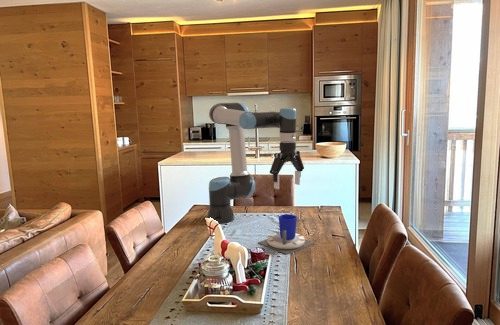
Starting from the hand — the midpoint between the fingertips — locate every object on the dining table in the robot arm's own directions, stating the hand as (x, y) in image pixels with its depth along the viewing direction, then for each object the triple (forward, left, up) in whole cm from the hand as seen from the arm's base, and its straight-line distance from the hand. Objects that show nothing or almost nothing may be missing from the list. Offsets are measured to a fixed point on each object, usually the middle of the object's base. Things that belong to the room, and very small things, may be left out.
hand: (287, 186), depth 178 cm
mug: (+5, -5, -22) cm, 23 cm away
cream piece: (+6, -7, -25) cm, 26 cm away
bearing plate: (+6, -7, -25) cm, 26 cm away
